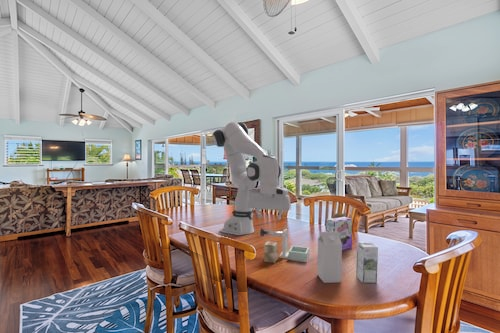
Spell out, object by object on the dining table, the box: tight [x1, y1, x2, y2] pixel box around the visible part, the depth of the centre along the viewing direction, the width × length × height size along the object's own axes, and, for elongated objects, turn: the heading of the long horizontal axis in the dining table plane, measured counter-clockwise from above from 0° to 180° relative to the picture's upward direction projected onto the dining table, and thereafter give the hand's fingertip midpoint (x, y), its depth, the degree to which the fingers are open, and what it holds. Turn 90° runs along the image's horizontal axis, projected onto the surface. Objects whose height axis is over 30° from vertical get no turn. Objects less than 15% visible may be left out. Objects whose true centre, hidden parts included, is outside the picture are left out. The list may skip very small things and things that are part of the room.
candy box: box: [325, 216, 353, 251], centre depth 137 cm, size 14×6×16 cm, turn 117°
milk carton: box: [317, 231, 343, 284], centre depth 102 cm, size 7×7×19 cm
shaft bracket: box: [278, 228, 310, 263], centre depth 125 cm, size 13×9×13 cm, turn 70°
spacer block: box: [263, 240, 278, 263], centre depth 121 cm, size 5×5×8 cm
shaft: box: [259, 227, 289, 237], centre depth 128 cm, size 13×4×4 cm, turn 70°
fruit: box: [331, 212, 347, 219], centre depth 158 cm, size 11×11×15 cm
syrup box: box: [355, 241, 379, 284], centre depth 101 cm, size 6×6×14 cm
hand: (269, 218), depth 120 cm, fingers open, 8 cm apart
